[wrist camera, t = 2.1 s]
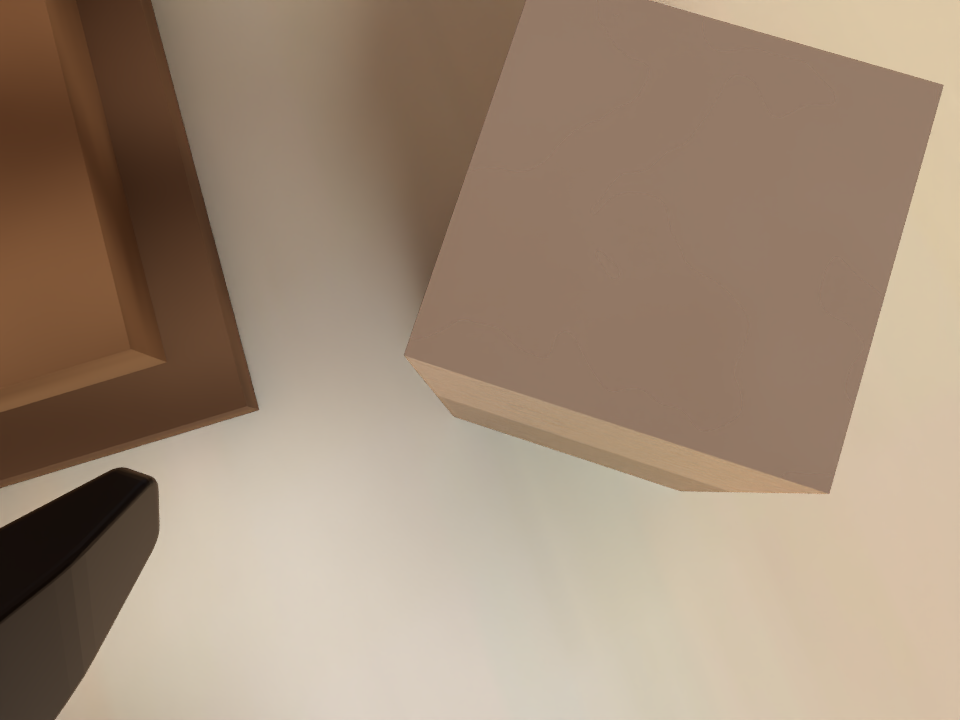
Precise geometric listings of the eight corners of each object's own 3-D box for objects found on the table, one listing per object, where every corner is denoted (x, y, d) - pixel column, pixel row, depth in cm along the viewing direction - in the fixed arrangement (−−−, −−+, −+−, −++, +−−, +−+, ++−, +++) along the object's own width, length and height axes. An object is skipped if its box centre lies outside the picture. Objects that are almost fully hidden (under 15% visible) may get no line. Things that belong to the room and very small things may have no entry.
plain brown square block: (680, 491, 21) (829, 493, 11) (453, 416, 22) (403, 355, 12) (747, 268, 22) (943, 85, 12) (526, 200, 22) (537, -33, 12)
